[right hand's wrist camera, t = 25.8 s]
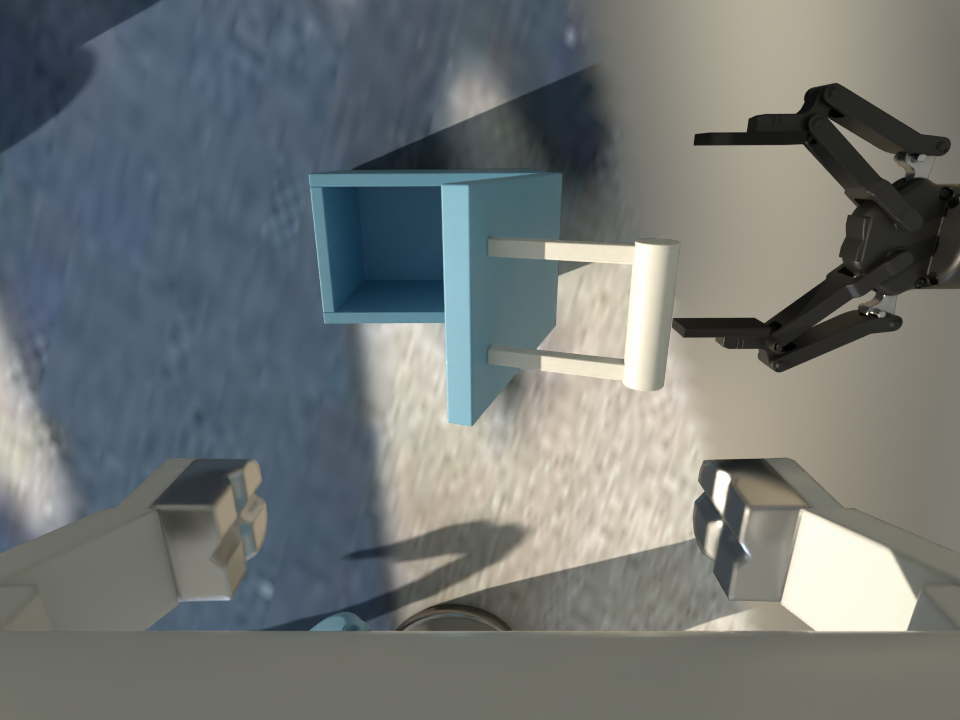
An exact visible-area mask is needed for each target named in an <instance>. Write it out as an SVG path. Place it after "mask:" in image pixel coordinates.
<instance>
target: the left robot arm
mask: <svg viewBox="0 0 960 720" xmlns="http://www.w3.org/2000/svg"><path fill="white" fill-rule="evenodd" d="M804 101H805V103H804V104H803V106H802V108H801V110H800V111H799V112H797V113H796V114H763V115H757V116H754V117H752V118H749V121H748V128H747V132H730V133H701V134H695V138H694V145H794V144H803V145H804V146H805V147H806V148H807V149H808V150H809V151H810V152H811V153H812V154H813V156H814V157H815V158H816V159H817V160H818V161H819V162H820V163H821V164H822V165H823V166H824V168H825V169H826V170H827V171H828V172H829V173H830V174H831V175H832V176H833V177H834V178H835V179H836V181H837V182H838V183H839V184H840V185H841V186H842V187H843V188H844V189H845V194H846V196H847V197H848V198H849V199H850V200H851V201H852V202H853V203H854V204H855V205H856V206H857V208H856V209H855V210H854V212H853V213H852V215H848V217H847V222H846V238H845V240H844V242H843V244H842V246H841V250H840V254H839V257H842V260H843V263H842V264H841V265H840V266H838V267H837V268H835V269H834V270H833V271H831V272H830V273H829V274H828V275H827V276H826V279H825V280H824V281H823V282H822V283H820V284H819V285H817V286H816V287H815V288H813V289H812V290H810V291H809V292H808V293H806V294H805V295H803V296H802V297H801V298H799V299H798V300H796V301H795V302H794V303H792V304H791V305H789V306H788V307H787V308H785V309H784V310H782V311H781V312H780V313H778V314H777V315H775V316H774V317H773V318H771V319H770V320H768V321H767V322H766V323H762V322H761V321H759V320H757V319H756V318H673V322H672V328H673V329H674V330H676V331H677V332H678V333H679V334H680V335H681V336H682V337H684V338H691V337H716V342H718V343H719V344H720V345H721V346H723V347H726V348H728V349H759V353H758V359H759V360H760V361H762V362H763V363H764V364H766V365H767V366H768V367H770V368H771V369H773V370H774V371H775V372H783V371H785V370H787V369H790V368H792V367H794V366H797V365H799V364H801V363H804V362H806V361H808V360H811V359H813V358H815V357H818V356H820V355H822V354H825V353H827V352H829V351H831V350H834V349H836V348H839V347H841V346H843V345H846V344H848V343H850V342H853V341H855V340H857V339H860V338H862V337H864V336H867V335H869V334H872V333H881V332H890V331H895V330H898V329H899V328H900V327H901V326H902V323H903V321H902V318H901V317H899V316H897V315H894V313H895V307H896V300H897V295H899V294H901V293H903V292H905V291H907V290H911V289H960V184H935V183H933V182H931V181H930V180H929V179H928V177H929V174H930V172H931V169H932V166H933V163H934V161H935V158H936V156H942V155H944V154H946V153H947V152H948V151H949V149H950V146H951V143H950V140H949V139H948V138H946V137H939V136H931V135H923V134H920V133H918V132H917V131H915V130H913V129H912V128H910V127H908V126H907V125H905V124H904V123H902V122H900V121H899V120H897V119H895V118H894V117H892V116H891V115H889V114H887V113H886V112H884V111H882V110H881V109H879V108H878V107H876V106H874V105H873V104H871V103H869V102H868V101H866V100H865V99H863V98H861V97H860V96H858V95H856V94H855V93H853V92H852V91H850V90H848V89H847V88H845V87H843V86H842V85H840V84H838V83H833V84H828V85H823V86H819V87H814V88H811V89H809V90H808V91H807V92H806V94H805V96H804ZM828 118H829V119H831V120H832V121H834V122H836V123H838V124H839V125H841V126H842V127H844V128H846V129H848V130H849V131H851V132H852V133H854V134H856V135H857V136H859V137H861V138H862V139H864V140H866V141H867V142H869V143H871V144H872V145H874V146H876V147H877V148H879V149H881V150H883V151H885V152H888V153H892V154H896V155H895V156H894V161H895V162H897V164H898V165H899V166H901V167H903V168H904V169H905V171H906V175H905V177H904V178H901V179H899V180H897V181H896V182H894V183H893V184H891V183H890V182H888V181H886V180H884V179H882V178H881V177H880V176H879V175H878V174H877V173H876V172H875V171H874V169H873V168H872V167H871V166H870V165H869V164H868V163H867V162H866V161H865V159H864V158H863V157H862V156H861V155H860V154H859V153H858V152H857V151H856V149H855V148H854V147H853V146H852V145H851V144H850V143H849V142H848V140H847V139H846V138H845V137H844V136H843V135H842V134H841V133H840V132H839V130H838V129H837V128H836V127H835V126H834V125H833V124H832V123H831V121H830V120H829V119H828ZM854 276H856V278H853V277H854ZM871 290H873V291H875V292H876V295H875V297H874V298H873V299H872V300H871V301H869V302H866V303H862V304H860V305H859V306H858V309H859V310H853V311H849V312H846V313H843V314H841V315H838V316H836V317H834V318H832V319H829V320H827V321H825V322H822V323H820V324H818V325H816V326H814V325H815V324H817V323H818V322H820V321H821V320H822V319H824V318H825V317H827V316H828V315H830V314H831V313H832V312H834V311H835V310H837V309H838V308H840V307H841V306H842V305H844V304H845V303H847V302H848V301H850V300H851V299H853V298H857V297H861V296H863V295H865V294H866V293H868V292H869V291H871ZM812 326H813V327H812ZM309 631H372V630H371V625H369V624H368V622H364V621H362V620H361V619H360V618H359V617H358V616H357V615H355V614H353V613H350V612H341V613H337V614H334V615H332V616H330V617H328V618H326V619H324V620H323V621H321V622H320V623H318V624H317V625H316V626H314V627H313V628H312V629H311V630H309ZM396 631H511V630H510V629H509V628H508V627H507V626H506V625H505V624H504V623H503V622H502V621H500V620H499V619H498V618H496V617H494V616H493V615H491V614H489V613H487V612H484V611H482V610H479V609H475V608H471V607H466V606H440V607H434V608H430V609H427V610H424V611H421V612H419V613H417V614H415V615H413V616H411V617H410V618H408V619H407V620H406V621H404V622H403V623H402V624H401V625H400V626H399V627H398V628H397V629H396Z"/></svg>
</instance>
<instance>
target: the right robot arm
mask: <svg viewBox="0 0 960 720" xmlns="http://www.w3.org/2000/svg"><path fill="white" fill-rule="evenodd" d="M261 482H262V478H261V473H260V468H259V465H258V463H257V462H256V461H255V460H254V459H204V458H201V459H198V458H174V459H167V460H166V461H165V462H164V463H163V464H162V465H160V466H159V467H158V468H157V469H156V470H155V471H154V472H153V473H152V474H151V475H150V476H149V477H148V478H147V479H146V480H145V481H144V482H143V483H142V484H140V485H139V486H138V487H137V488H136V489H135V490H134V491H133V492H132V493H131V494H130V495H129V496H128V497H127V498H126V499H125V500H124V501H123V502H122V503H121V504H119V505H118V506H117V507H116V508H106V509H103V510H101V511H99V512H96V513H94V514H92V515H89V516H87V517H85V518H82V519H80V520H78V521H75V522H73V523H71V524H68V525H66V526H63V527H61V528H59V529H56V530H54V531H52V532H49V533H47V534H45V535H42V536H40V537H38V538H35V539H33V540H31V541H28V542H26V543H23V544H21V545H19V546H16V547H14V548H12V549H9V550H7V551H5V552H2V553H0V720H960V553H957V552H955V551H953V550H950V549H948V548H946V547H943V546H941V545H939V544H936V543H934V542H932V541H929V540H927V539H925V538H922V537H920V536H918V535H915V534H913V533H910V532H908V531H906V530H903V529H901V528H899V527H896V526H894V525H892V524H889V523H887V522H885V521H882V520H880V519H878V518H875V517H873V516H871V515H868V514H866V513H864V512H861V511H859V510H856V509H854V508H844V507H843V506H842V505H841V504H840V503H838V502H837V501H836V500H835V499H834V498H833V497H832V496H831V495H830V494H829V493H828V492H827V491H826V490H825V489H824V488H823V487H822V486H821V485H820V484H819V483H818V482H816V481H815V480H814V479H813V478H812V477H811V476H810V475H809V474H808V473H807V472H806V471H805V470H804V469H803V468H802V467H801V466H800V465H799V464H798V463H797V462H795V461H794V460H792V459H789V458H770V459H725V460H705V461H703V463H702V466H701V468H700V472H699V478H698V482H699V483H700V485H701V486H702V488H703V489H704V491H705V492H704V493H703V494H702V495H701V496H700V497H699V498H698V499H697V500H696V501H695V503H694V512H693V526H694V534H695V537H696V540H697V543H698V545H699V547H700V549H701V551H702V553H703V554H704V555H706V556H707V557H709V558H710V559H712V560H713V561H715V563H714V569H713V572H714V574H715V576H716V578H717V579H718V581H719V583H720V585H721V586H722V588H723V590H724V592H725V593H726V595H727V597H728V599H729V600H741V601H779V602H781V604H782V605H783V606H784V607H786V608H787V609H788V610H789V611H791V612H792V613H793V614H795V615H796V616H797V617H798V618H800V619H801V620H802V621H804V622H805V623H806V624H808V625H809V626H810V627H812V628H813V629H814V630H815V631H145V630H146V629H147V628H149V627H150V626H151V625H153V624H154V623H155V622H156V621H158V620H159V619H160V618H162V617H163V616H164V615H166V614H167V613H168V612H170V611H171V610H172V609H173V608H175V607H176V606H177V605H179V602H182V601H217V600H231V599H232V597H233V595H234V594H235V592H236V590H237V588H238V586H239V585H240V583H241V581H242V579H243V578H244V576H245V574H246V572H247V569H246V563H245V561H247V560H248V559H250V558H251V557H253V556H254V555H256V554H257V553H258V551H259V549H260V547H261V545H262V543H263V540H264V536H265V532H266V528H267V510H266V503H265V501H264V500H263V499H262V498H261V497H260V496H259V495H258V494H257V493H256V492H255V491H256V489H257V488H258V486H259V485H260V483H261Z"/></svg>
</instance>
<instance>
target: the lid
mask: <svg viewBox="0 0 960 720" xmlns="http://www.w3.org/2000/svg"><path fill="white" fill-rule="evenodd" d="M561 196H562V173H537V174H528V175H519V176H509V177H500V178H491V179H481V180H472V181H463V182H453V183H444V184H442V185H441V197H442V234H443V270H444V306H445V342H446V378H447V414H448V422H449V423H455V424H461V425H467V426H473V425H474V424H475V422H476V421H477V420H478V419H479V418H480V416H481V415H482V414H483V413H484V411H485V410H486V409H487V408H488V407H489V405H490V404H491V403H492V402H493V401H494V399H495V398H496V397H497V396H498V395H499V393H500V392H501V391H502V390H503V389H504V387H505V386H506V385H507V384H508V383H509V381H510V380H511V379H512V378H513V376H514V375H515V374H516V373H517V372H518V370H519V369H520V368H525V369H533V370H541V371H549V372H558V373H566V374H574V375H582V376H590V377H598V378H606V379H614V380H622V382H623V384H624V385H625V386H627V387H629V388H631V389H634V390H639V391H656V390H659V389H661V388H663V386H664V379H665V371H666V363H667V354H668V346H669V337H670V329H671V320H672V312H673V304H674V295H675V287H676V278H677V270H678V262H679V253H680V245H681V243H680V242H679V241H676V240H670V239H657V238H648V239H638V240H636V241H635V243H619V242H596V241H573V240H560V218H561ZM559 260H565V261H583V262H601V263H619V264H633V268H632V279H631V290H630V301H629V312H628V323H627V334H626V345H625V356H624V359H616V358H607V357H598V356H589V355H580V354H571V353H562V352H553V351H544V350H536V349H537V347H538V346H539V345H540V344H541V343H542V341H543V340H544V339H545V338H546V337H547V335H548V334H549V333H550V332H551V331H552V329H553V328H554V327H555V326H556V309H557V286H558V264H559Z"/></svg>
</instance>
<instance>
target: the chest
mask: <svg viewBox="0 0 960 720" xmlns="http://www.w3.org/2000/svg"><path fill="white" fill-rule="evenodd" d="M537 173H551V172H547V171H542V170H537V169H419V170H342V171H332V172H321V173H310V174H309V181H310V186H311V187H310V190H311V200H312V209H313V218H314V228H315V237H316V247H317V256H318V266H319V275H320V285H321V294H322V304H323V311H324V313H323V314H324V323H445V306H444V270H443V234H442V197H441V185H442V184H444V183H453V182H463V181H472V180H481V179H491V178H500V177H509V176H519V175H528V174H537Z"/></svg>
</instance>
